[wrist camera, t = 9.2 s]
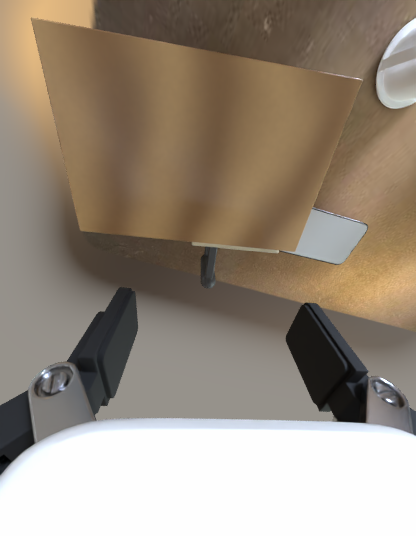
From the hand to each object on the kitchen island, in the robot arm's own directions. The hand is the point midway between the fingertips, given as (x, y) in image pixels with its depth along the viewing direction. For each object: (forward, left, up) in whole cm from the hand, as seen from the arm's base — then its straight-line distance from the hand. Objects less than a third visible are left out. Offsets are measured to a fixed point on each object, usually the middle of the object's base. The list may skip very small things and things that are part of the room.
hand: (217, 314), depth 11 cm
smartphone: (+16, -1, -20) cm, 26 cm away
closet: (-2, +7, -20) cm, 21 cm away
